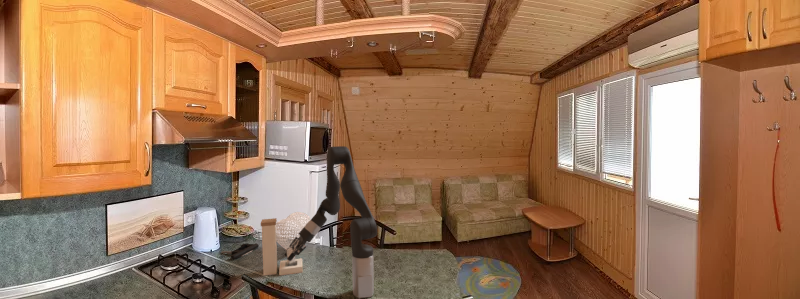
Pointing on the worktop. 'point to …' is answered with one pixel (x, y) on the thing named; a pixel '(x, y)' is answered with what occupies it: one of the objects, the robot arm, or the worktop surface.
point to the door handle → (242, 250)
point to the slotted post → (275, 251)
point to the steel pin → (289, 251)
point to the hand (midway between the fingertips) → (287, 258)
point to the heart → (291, 228)
